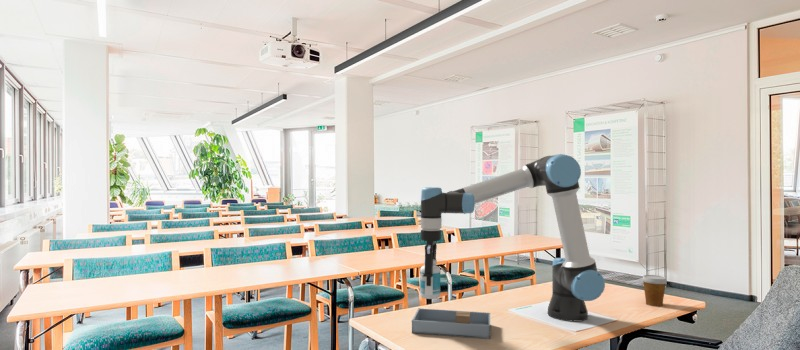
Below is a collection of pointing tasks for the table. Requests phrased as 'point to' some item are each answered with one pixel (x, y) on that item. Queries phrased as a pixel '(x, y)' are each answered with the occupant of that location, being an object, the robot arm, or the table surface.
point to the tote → (450, 323)
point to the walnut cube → (463, 317)
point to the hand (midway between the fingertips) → (430, 291)
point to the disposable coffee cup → (654, 289)
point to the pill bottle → (435, 281)
